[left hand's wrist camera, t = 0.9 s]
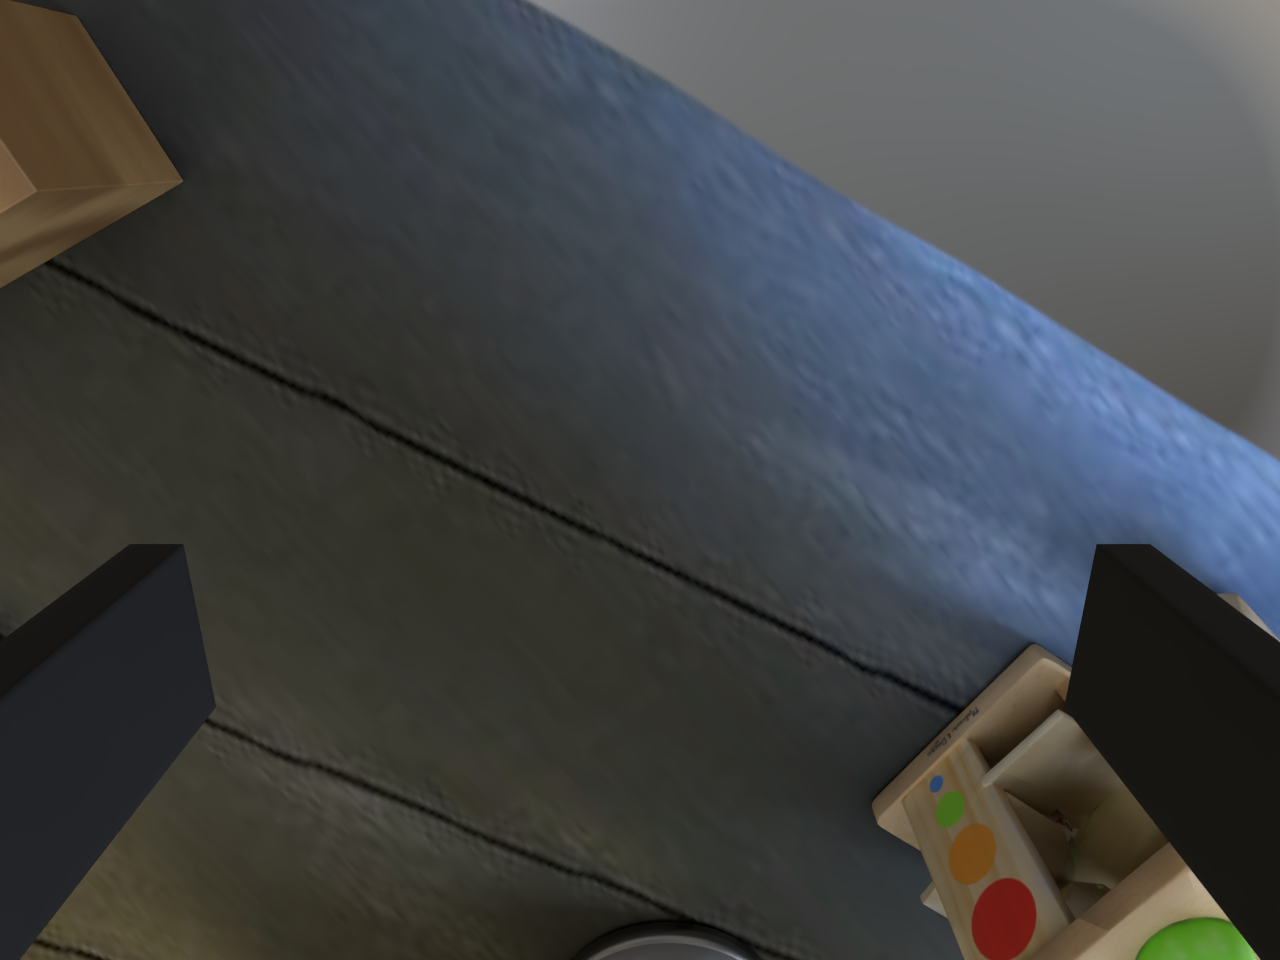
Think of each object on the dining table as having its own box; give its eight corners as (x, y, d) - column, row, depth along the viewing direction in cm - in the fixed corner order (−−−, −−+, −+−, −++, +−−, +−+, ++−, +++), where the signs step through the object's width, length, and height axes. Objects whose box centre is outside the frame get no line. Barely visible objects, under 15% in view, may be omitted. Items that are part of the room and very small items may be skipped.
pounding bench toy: (1146, 525, 46) (1433, 738, 29) (1321, 658, 49) (1674, 921, 32) (864, 806, 53) (968, 1110, 36) (1034, 908, 56) (1202, 1234, 39)
